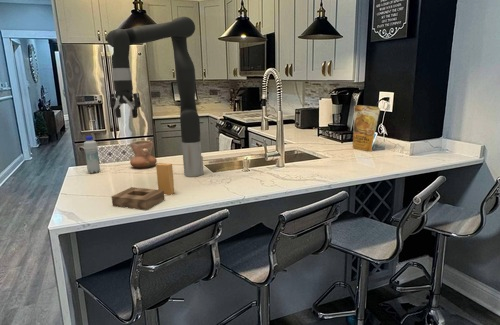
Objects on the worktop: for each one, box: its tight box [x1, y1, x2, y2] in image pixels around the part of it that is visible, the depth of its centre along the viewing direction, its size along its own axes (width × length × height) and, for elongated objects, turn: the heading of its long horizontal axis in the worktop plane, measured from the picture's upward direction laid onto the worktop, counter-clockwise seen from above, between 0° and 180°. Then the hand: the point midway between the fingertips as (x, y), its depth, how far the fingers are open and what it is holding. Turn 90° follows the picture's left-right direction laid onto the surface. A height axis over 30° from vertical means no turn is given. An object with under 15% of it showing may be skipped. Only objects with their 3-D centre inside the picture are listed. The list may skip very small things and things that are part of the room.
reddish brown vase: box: [129, 140, 157, 169], centre depth 198 cm, size 18×14×14 cm
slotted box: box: [111, 186, 166, 211], centre depth 140 cm, size 16×12×4 cm
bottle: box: [83, 135, 101, 174], centre depth 186 cm, size 7×7×20 cm
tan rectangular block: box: [155, 162, 175, 196], centre depth 149 cm, size 6×3×13 cm, turn 70°
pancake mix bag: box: [352, 104, 381, 152], centre depth 224 cm, size 7×19×28 cm, turn 30°
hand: (126, 117), depth 152 cm, fingers open, 8 cm apart
